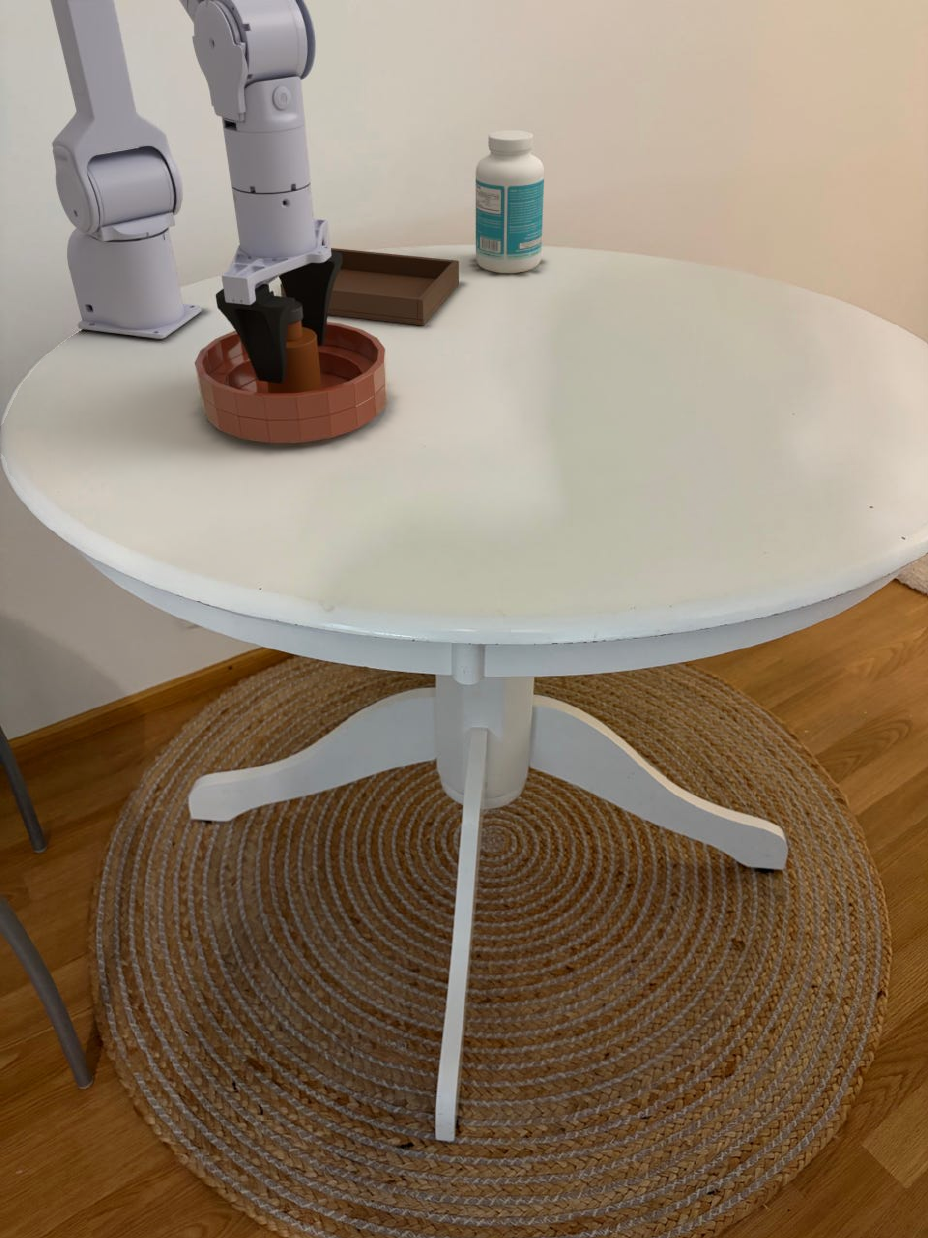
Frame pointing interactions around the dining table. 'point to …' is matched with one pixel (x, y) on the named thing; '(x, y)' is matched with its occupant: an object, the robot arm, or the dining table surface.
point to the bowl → (294, 417)
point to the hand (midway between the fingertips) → (292, 361)
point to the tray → (391, 286)
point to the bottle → (299, 358)
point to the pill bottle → (509, 204)
